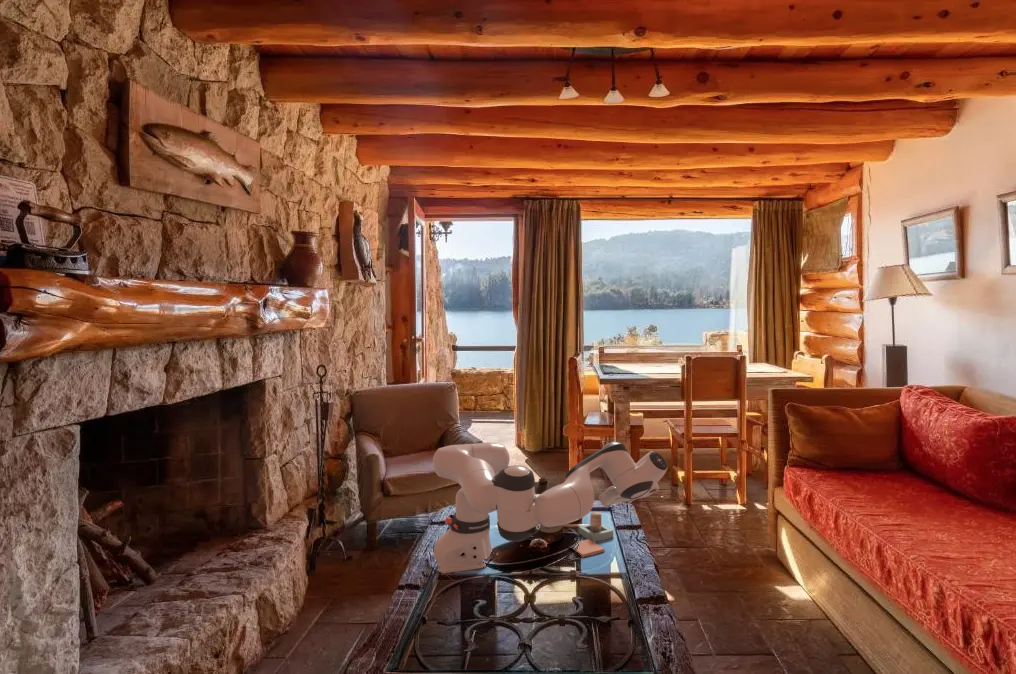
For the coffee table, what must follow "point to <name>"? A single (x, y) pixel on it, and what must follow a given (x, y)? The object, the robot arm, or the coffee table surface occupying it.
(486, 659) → the coffee table surface
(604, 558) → the coffee table surface
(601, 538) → the pocket holder
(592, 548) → the terracotta tile
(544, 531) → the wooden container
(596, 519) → the peg
